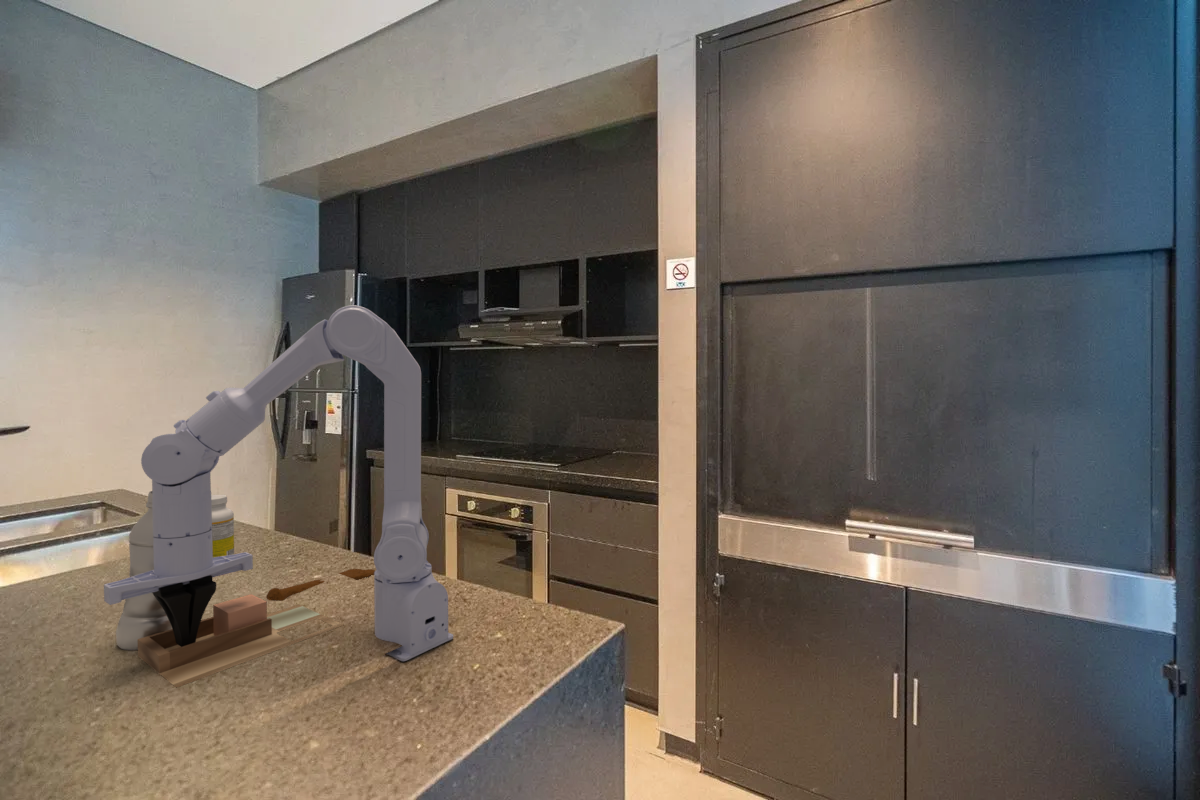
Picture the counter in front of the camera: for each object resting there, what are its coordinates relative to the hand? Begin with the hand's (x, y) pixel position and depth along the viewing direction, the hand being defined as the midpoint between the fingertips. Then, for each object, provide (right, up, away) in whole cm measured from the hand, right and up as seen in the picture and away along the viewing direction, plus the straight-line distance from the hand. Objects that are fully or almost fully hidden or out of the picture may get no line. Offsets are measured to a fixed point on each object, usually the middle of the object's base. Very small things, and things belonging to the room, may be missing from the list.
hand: (185, 643), depth 68 cm
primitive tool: (+4, -3, +26) cm, 26 cm away
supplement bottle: (-22, -2, +37) cm, 43 cm away
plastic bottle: (-8, -2, +4) cm, 9 cm away
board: (+5, -3, +3) cm, 7 cm away
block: (+3, -1, +5) cm, 6 cm away
